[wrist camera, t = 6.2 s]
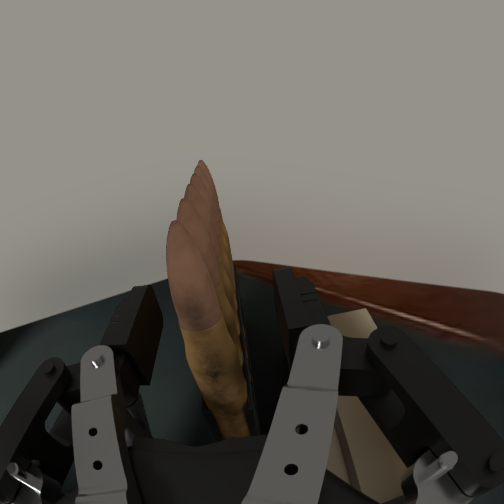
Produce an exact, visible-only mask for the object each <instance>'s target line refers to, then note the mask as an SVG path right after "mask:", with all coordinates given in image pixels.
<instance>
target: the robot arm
mask: <svg viewBox="0 0 504 504" xmlns="http://www.w3.org/2000/svg"><path fill="white" fill-rule="evenodd" d="M272 273H273V285H274V296H275V305H276V312H277V316H278V321H279V325H280V330H281V334H282V339H283V343H284V348H285V353H286V357H287V362H288V366H289V371H290V376H289V380H288V383H287V385H284V386H283V389H282V391H281V394H280V398H279V401H278V404H277V408H276V411H275V414H274V418H273V421H272V424H271V427H270V430H269V434H268V437H267V435H258V436H249V437H237V438H230V439H226V440H223V441H219V442H215V443H211V444H207V445H203V446H199V447H193V446H188V445H184V444H180V443H176V442H173V441H169V440H165V439H154V438H153V437H152V435H151V432H150V428H149V425H148V421H147V417H146V413H145V409H144V405H143V400H142V396H141V394H140V393H139V387H140V385H150V382H151V377H152V373H153V368H154V363H155V359H156V354H157V350H158V345H159V341H160V337H161V333H162V329H163V316H162V312H161V310H160V307H159V304H158V302H157V299H156V296H155V293H154V291H153V288H152V286H151V285H144V286H135V287H133V288H132V290H131V292H130V295H129V297H128V299H124V300H123V301H122V302H121V303H120V304H119V305H118V306H117V307H116V310H115V312H114V314H113V317H112V318H111V320H110V324H109V325H108V327H107V329H106V332H105V334H104V336H103V339H102V341H101V343H100V346H96V347H93V348H91V349H90V350H88V351H87V352H86V353H85V354H84V356H83V357H82V359H81V363H78V364H74V365H70V366H66V365H65V364H64V362H63V361H62V360H61V359H60V358H50V359H48V360H46V361H45V362H43V363H42V364H41V366H40V367H39V368H38V370H37V371H36V373H35V374H34V375H33V377H32V378H31V380H30V381H29V383H28V384H27V386H26V387H25V389H24V390H23V391H22V393H21V395H20V396H19V398H18V399H17V401H16V402H15V404H14V405H13V407H12V409H11V410H10V412H9V413H8V415H7V417H6V418H5V420H4V422H3V423H2V425H1V427H0V502H1V503H2V504H380V503H379V502H377V501H375V500H374V499H372V498H370V497H369V496H367V495H365V494H364V493H362V492H361V491H359V490H357V489H356V488H354V487H353V486H351V485H350V484H348V483H347V482H345V481H344V480H342V479H341V478H339V477H338V476H336V475H335V474H333V473H332V472H331V471H329V470H328V469H326V465H327V460H328V455H329V450H330V445H331V439H332V433H333V427H334V421H335V414H336V407H337V400H338V396H357V397H358V398H359V400H360V401H361V403H362V404H363V406H364V407H365V408H366V410H367V411H368V413H369V414H370V416H371V417H372V418H373V420H374V421H375V423H376V424H377V426H378V427H379V428H380V430H381V431H382V433H383V434H384V436H385V437H386V438H387V440H388V441H389V443H390V444H391V446H392V447H393V449H394V450H395V451H396V453H397V454H398V456H399V457H400V459H401V460H402V461H403V463H404V464H405V466H406V467H407V469H406V471H405V472H404V474H403V476H402V479H401V489H402V491H403V494H404V498H405V502H404V504H468V503H469V502H470V501H471V500H472V499H474V498H476V497H478V496H480V495H482V494H484V493H486V492H487V491H489V490H491V489H493V488H495V487H496V486H498V485H500V484H501V483H502V482H504V441H503V440H502V439H501V437H500V436H499V435H498V434H497V433H496V431H495V430H494V429H493V428H492V427H491V426H490V424H489V423H488V422H487V421H486V420H485V419H484V417H483V416H482V415H481V414H480V413H479V412H478V411H477V409H476V408H475V407H474V406H473V405H472V404H471V403H470V402H469V401H468V399H467V398H466V397H465V396H464V395H463V394H462V393H461V392H460V391H459V390H458V388H457V387H456V386H455V385H454V384H453V383H452V382H451V381H450V380H449V379H448V378H447V377H446V376H445V374H444V373H443V372H442V371H441V370H440V369H439V368H438V367H437V366H436V365H435V364H434V363H433V362H432V361H431V360H430V359H429V358H428V357H427V356H426V355H425V354H424V353H423V352H422V351H421V350H420V349H419V348H418V346H417V345H416V344H415V343H414V342H413V341H412V340H411V339H410V338H409V337H408V336H407V335H406V334H405V333H403V332H402V331H401V330H399V329H397V328H394V327H380V328H377V329H375V330H374V331H372V332H371V334H370V335H369V338H351V337H346V336H343V335H341V333H340V332H339V330H337V329H336V328H335V327H333V326H331V324H330V322H329V319H328V317H327V315H326V312H325V310H324V308H323V305H322V303H321V301H320V299H319V296H318V294H317V292H316V289H315V287H314V285H313V283H312V282H310V281H309V280H308V279H307V278H305V277H301V278H294V275H293V272H292V270H291V267H285V268H278V269H273V270H272ZM56 402H58V403H59V404H60V405H61V406H62V408H63V410H62V412H61V414H60V415H59V417H58V419H57V421H56V422H55V424H54V426H53V428H52V430H51V431H50V433H48V432H47V431H46V430H45V421H46V419H47V417H48V415H49V414H50V412H51V410H52V409H53V407H54V405H55V404H56ZM74 459H75V468H76V475H77V482H78V484H77V485H76V486H75V487H74V488H73V489H71V490H70V491H69V492H68V493H67V494H65V493H64V492H62V490H61V487H62V485H63V483H64V480H65V478H66V476H67V474H68V472H69V469H70V467H71V465H72V463H73V461H74Z"/></svg>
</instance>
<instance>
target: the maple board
mask: <svg viewBox="0 0 504 504" xmlns="http://www.w3.org/2000/svg"><path fill="white" fill-rule="evenodd" d="M327 317H328V319H329V322H330V324H331V326H333V327H335V328H336V329H337V330H339V332H340V333H341V335H343V336H346V337H351V338H369V335H370V334H371V332H372V331H374V330H375V329H377V326H376V325H375V323H374V321H373V319H372V318H371V316H370V314H369V313H368V311H367V309H366V308H364V309H360V310H355V311H350V312H345V313H340V314H335V315H330V316H327ZM326 469H328V470H329V471H331V472H332V473H333V474H335V475H336V476H338V477H339V478H341V479H342V480H344V481H345V482H347V483H348V484H350V485H351V486H353V487H354V488H356V489H357V490H359V491H361V492H362V493H364V494H365V495H367V496H369V497H370V498H372V499H374V500H375V501H377V502H379V503H380V504H404V502H405V498H404V494H403V491H402V489H401V479H402V476H403V474H404V472H405V471H406V469H407V467H406V466H405V464H404V463H403V461H402V460H401V459H400V457H399V456H398V454H397V453H396V451H395V450H394V449H393V447H392V446H391V444H390V443H389V441H388V440H387V438H386V437H385V436H384V434H383V433H382V431H381V430H380V428H379V427H378V426H377V424H376V423H375V421H374V420H373V418H372V417H371V416H370V414H369V413H368V411H367V410H366V408H365V407H364V406H363V404H362V403H361V401H360V400H359V398H358V397H357V396H338V400H337V407H336V414H335V421H334V427H333V433H332V439H331V445H330V450H329V455H328V460H327V465H326Z"/></svg>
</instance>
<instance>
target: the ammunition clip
mask: <svg viewBox="0 0 504 504" xmlns="http://www.w3.org/2000/svg"><path fill="white" fill-rule="evenodd" d="M166 258H167V259H166V261H167V274H168V281H169V286H170V292H171V296H172V300H173V304H174V307H175V310H176V313H177V316H178V319H179V326H180V329H181V332H182V335H183V339H184V343H185V352H186V358H187V361H188V364H189V367H190V369H191V371H192V374H193V376H194V378H195V380H196V383H197V385H198V387H199V389H200V392H201V394H202V413H203V415H204V417H205V419H206V421H207V423H208V425H209V427H210V429H211V430H212V432H213V434H214V436H215V438H216V440H217V442H219V441H223V440H226V439H230V438H237V437H249V436H258V435H261V431H260V424H259V417H258V410H257V403H256V396H255V389H254V382H253V375H252V368H251V361H250V353H249V346H248V338H247V331H246V323H245V318H244V312H243V306H242V301H241V295H240V289H239V283H238V278H237V272H236V266H233V261H232V255H231V250H230V244H229V238H228V234H227V230H226V228H225V225H224V223H223V220H222V214H221V210H220V208H219V202H218V196H217V193H216V189H215V185H214V182H213V179H212V177H211V174H210V172H209V170H208V168H207V166H206V165H205V163H204V162H203V161H202V160H200V161H199V162H198V165H197V167H196V168H195V172H194V174H193V175H192V177H191V180H190V184H188V185H187V188H186V191H185V196H184V198H183V199H181V201H180V203H179V208H178V212H177V220H175V221H172V222H171V224H170V227H169V231H168V236H167V245H166Z"/></svg>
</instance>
